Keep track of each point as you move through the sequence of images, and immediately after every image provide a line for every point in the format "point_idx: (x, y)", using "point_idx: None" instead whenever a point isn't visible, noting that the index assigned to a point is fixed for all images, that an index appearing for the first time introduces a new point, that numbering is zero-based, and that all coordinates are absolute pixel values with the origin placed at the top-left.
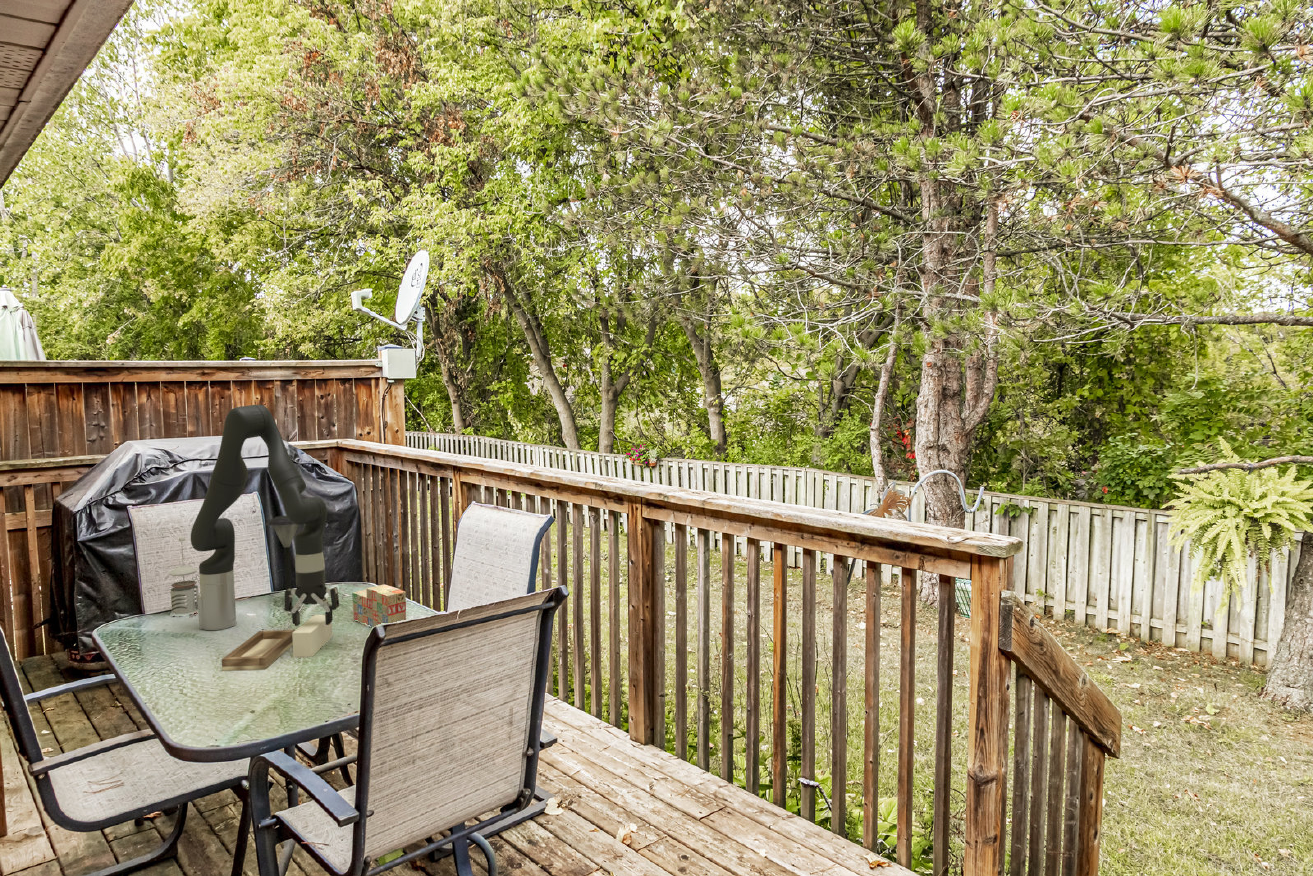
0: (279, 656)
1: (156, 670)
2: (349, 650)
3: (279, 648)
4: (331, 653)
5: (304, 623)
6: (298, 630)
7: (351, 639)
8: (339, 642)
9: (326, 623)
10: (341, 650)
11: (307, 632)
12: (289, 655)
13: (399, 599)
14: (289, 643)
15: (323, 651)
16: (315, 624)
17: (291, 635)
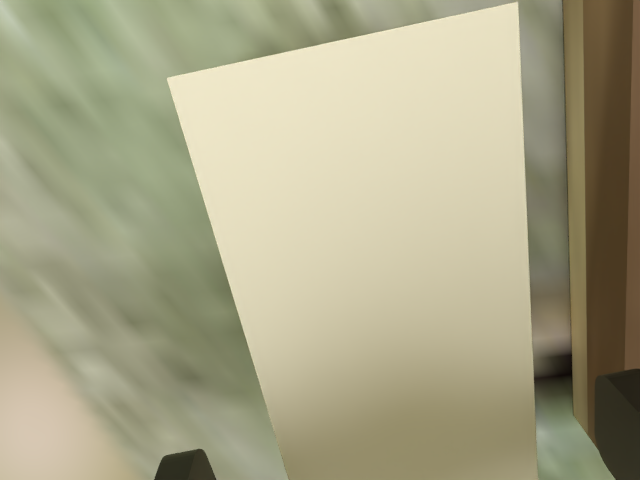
0: (565, 12)
1: None
2: (8, 264)
3: (613, 14)
4: (111, 175)
5: (529, 453)
6: (464, 155)
7: None
8: (223, 408)
9: (179, 463)
10: (78, 255)
11: (232, 69)
12: None
13: None
14: (591, 269)
15: None
16: (346, 436)
17: (627, 352)
